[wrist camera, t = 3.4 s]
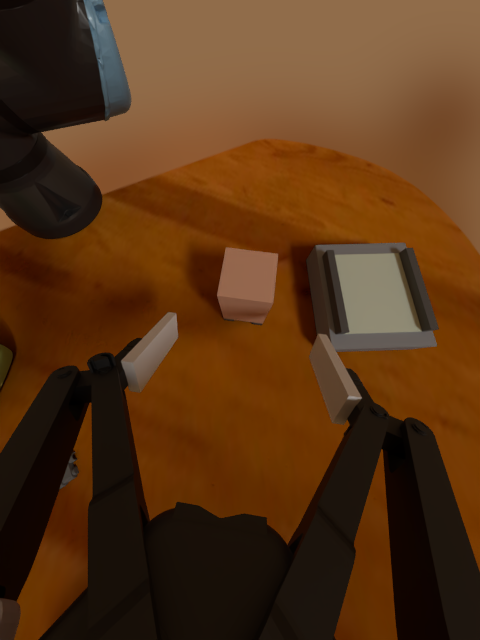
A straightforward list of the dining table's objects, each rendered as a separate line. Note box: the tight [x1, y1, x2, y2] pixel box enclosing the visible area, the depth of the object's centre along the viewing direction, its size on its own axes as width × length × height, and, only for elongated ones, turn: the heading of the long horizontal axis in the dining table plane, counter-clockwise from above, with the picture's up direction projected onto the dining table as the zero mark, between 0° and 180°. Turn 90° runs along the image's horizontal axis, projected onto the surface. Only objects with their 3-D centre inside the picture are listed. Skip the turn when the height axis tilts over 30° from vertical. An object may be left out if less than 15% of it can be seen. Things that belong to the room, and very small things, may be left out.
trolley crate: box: [217, 247, 278, 325], centre depth 25 cm, size 6×6×10 cm
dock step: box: [306, 243, 439, 352], centre depth 27 cm, size 16×14×6 cm
